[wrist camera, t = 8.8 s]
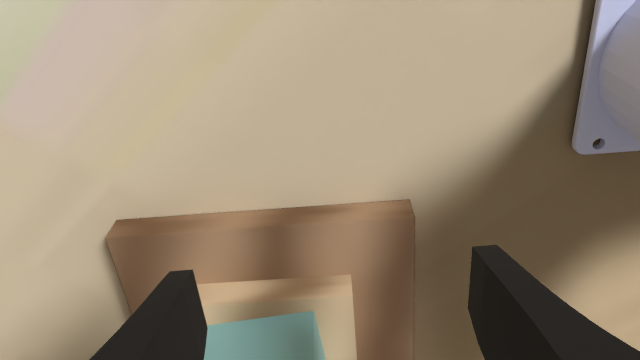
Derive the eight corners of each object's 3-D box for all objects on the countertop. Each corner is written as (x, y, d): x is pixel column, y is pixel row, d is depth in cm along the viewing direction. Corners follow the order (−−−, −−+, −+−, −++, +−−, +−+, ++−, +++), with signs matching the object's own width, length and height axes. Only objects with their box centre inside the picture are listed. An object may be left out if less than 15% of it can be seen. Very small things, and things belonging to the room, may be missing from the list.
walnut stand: (409, 199, 24) (420, 236, 22) (409, 398, 31) (417, 445, 28) (116, 220, 25) (92, 258, 22) (179, 411, 32) (166, 458, 29)
